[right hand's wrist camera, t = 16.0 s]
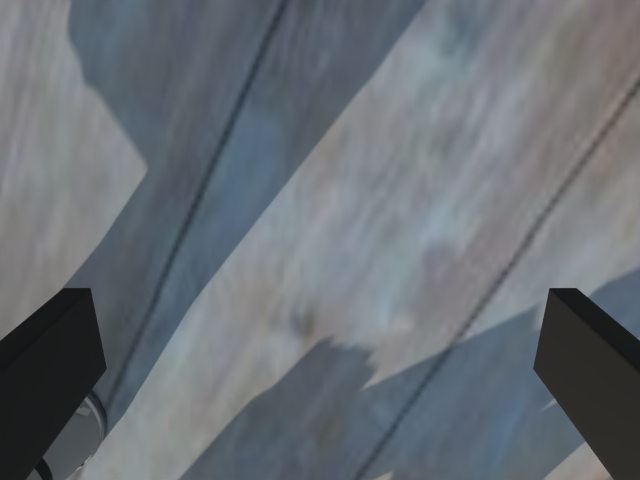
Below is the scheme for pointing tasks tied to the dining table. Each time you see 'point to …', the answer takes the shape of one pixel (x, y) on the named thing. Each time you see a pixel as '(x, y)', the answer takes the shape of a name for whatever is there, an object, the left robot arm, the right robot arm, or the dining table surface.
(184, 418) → the dining table surface
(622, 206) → the dining table surface
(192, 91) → the dining table surface
